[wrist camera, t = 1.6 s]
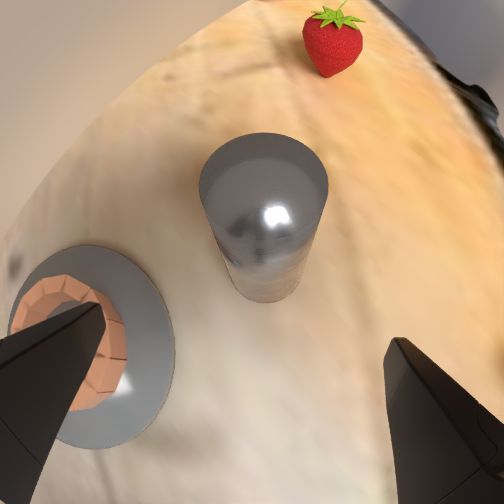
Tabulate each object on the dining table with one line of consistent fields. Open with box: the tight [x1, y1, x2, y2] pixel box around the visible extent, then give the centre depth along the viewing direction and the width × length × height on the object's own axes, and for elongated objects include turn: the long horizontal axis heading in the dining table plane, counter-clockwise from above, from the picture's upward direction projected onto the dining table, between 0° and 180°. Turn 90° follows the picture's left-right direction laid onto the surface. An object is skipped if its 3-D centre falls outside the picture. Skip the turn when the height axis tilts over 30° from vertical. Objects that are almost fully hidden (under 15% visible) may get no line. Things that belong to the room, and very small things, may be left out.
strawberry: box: [302, 1, 365, 77], centre depth 25 cm, size 6×8×10 cm
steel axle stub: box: [199, 133, 328, 303], centre depth 17 cm, size 5×5×11 cm
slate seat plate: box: [7, 246, 175, 450], centre depth 19 cm, size 16×16×4 cm
